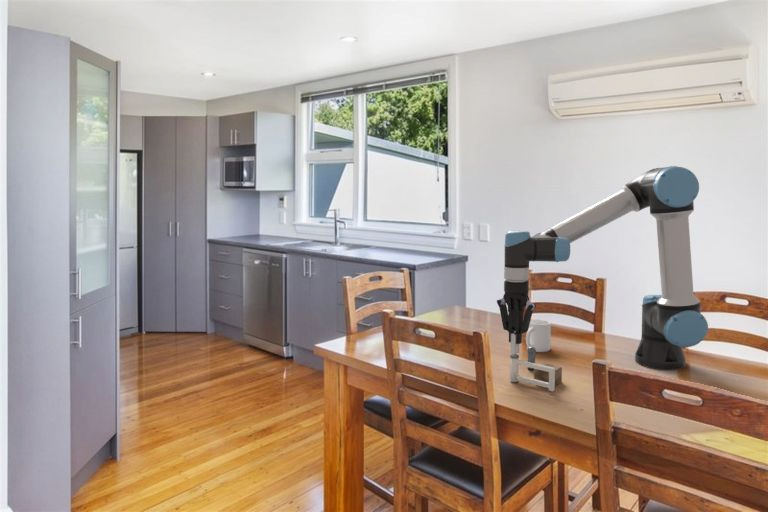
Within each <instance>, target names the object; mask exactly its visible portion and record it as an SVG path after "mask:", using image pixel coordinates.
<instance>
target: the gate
mask: <svg viewBox="0 0 768 512" xmlns="http://www.w3.org/2000/svg"><path fill="white" fill-rule="evenodd" d="M519 357H520V355H519V354H518V353H517V354H511V353H510V355H509V358H510V364H509V365H510V366H509V367H510V369H509V370H510V375H509V376H510V379H509V380H510V382H511V383H518V382H523V383H527V384H531V385H535V386H539V387H543V388H547V389H548V391H549V392H554V391H555V390H556V389H555V388H556V386H555V368H553V367H549V366H544V365H541V364H539V363H536V362H535V363H531V362H528V361H525V360H522V359H519ZM519 366H522V367H526V368H528V367H529V368H534V369H538V370H542V371H547V372H549V383H548V382H544V381H540V380H536V379H534V378H532V377H528V376H523V375H519Z"/></svg>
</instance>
